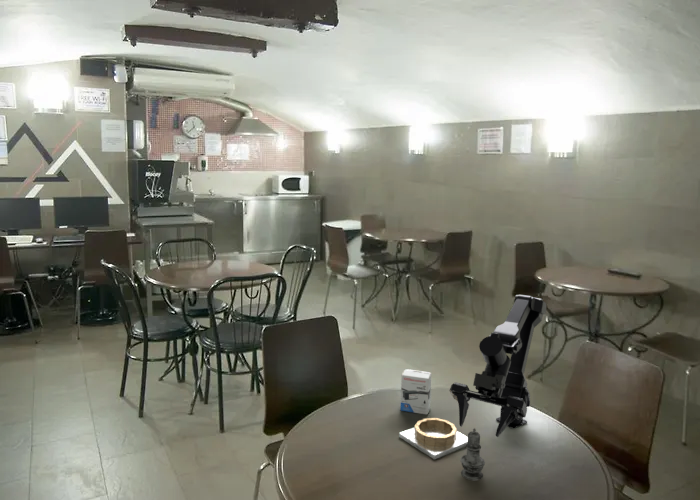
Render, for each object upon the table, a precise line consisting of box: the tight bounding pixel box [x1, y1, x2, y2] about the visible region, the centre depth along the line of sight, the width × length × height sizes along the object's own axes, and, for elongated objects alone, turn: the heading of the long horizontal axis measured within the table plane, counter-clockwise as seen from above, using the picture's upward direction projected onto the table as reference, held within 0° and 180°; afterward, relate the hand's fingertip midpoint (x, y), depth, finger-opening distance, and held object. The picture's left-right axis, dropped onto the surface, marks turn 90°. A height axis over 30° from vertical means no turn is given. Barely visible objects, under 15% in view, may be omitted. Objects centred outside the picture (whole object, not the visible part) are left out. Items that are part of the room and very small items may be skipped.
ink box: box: [399, 368, 432, 415], centre depth 168 cm, size 8×5×12 cm, turn 72°
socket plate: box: [398, 417, 468, 460], centre depth 150 cm, size 14×14×4 cm
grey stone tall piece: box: [460, 428, 486, 482], centre depth 134 cm, size 6×6×12 cm
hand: (478, 431), depth 135 cm, fingers open, 9 cm apart
